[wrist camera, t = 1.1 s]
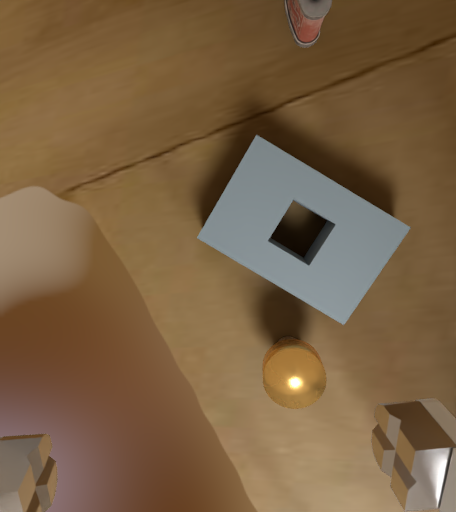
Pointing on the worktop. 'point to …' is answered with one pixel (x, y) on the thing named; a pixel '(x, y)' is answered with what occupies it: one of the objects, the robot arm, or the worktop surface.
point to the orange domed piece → (293, 373)
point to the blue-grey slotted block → (326, 243)
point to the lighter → (306, 19)
